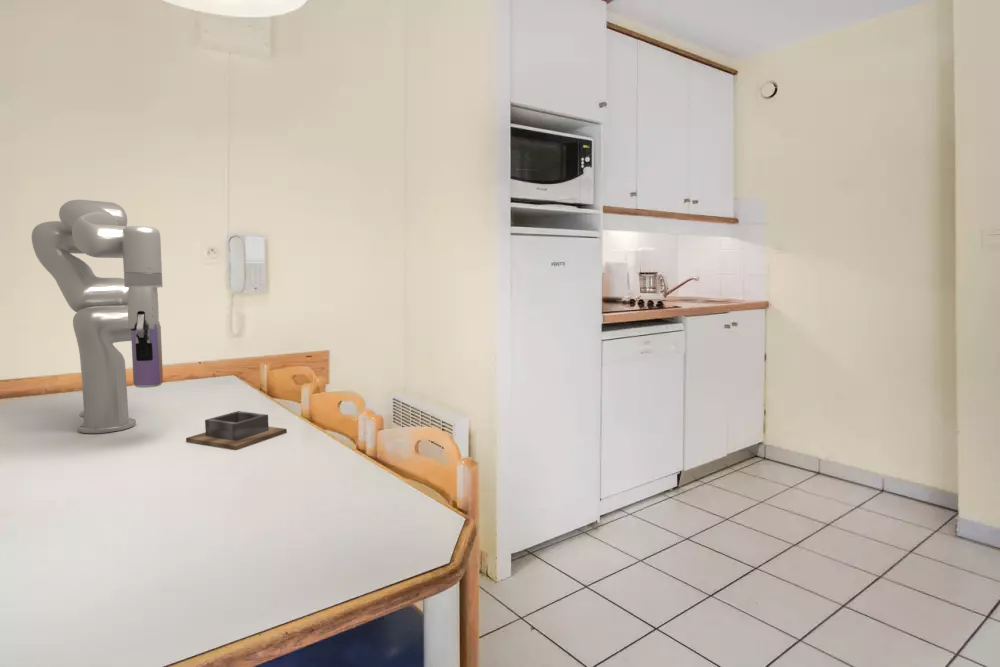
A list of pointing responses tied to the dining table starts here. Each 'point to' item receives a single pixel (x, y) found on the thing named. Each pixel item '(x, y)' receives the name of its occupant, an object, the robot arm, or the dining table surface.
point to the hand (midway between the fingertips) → (147, 357)
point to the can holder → (236, 430)
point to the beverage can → (148, 370)
